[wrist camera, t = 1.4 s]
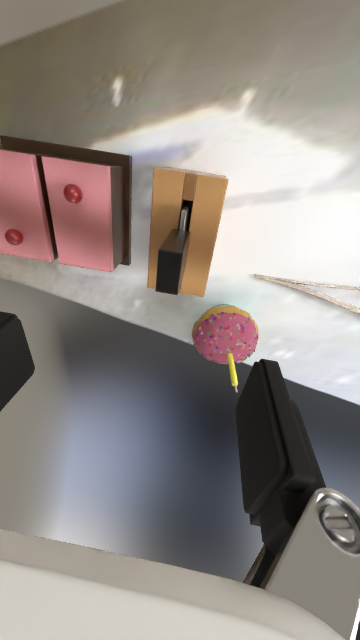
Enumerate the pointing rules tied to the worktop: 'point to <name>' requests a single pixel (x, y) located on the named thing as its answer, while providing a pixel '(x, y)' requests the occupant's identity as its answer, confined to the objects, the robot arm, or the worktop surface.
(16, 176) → the pink double-door cabinet
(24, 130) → the worktop surface
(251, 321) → the cupcake
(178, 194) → the knife block
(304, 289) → the tweezers
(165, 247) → the knife
